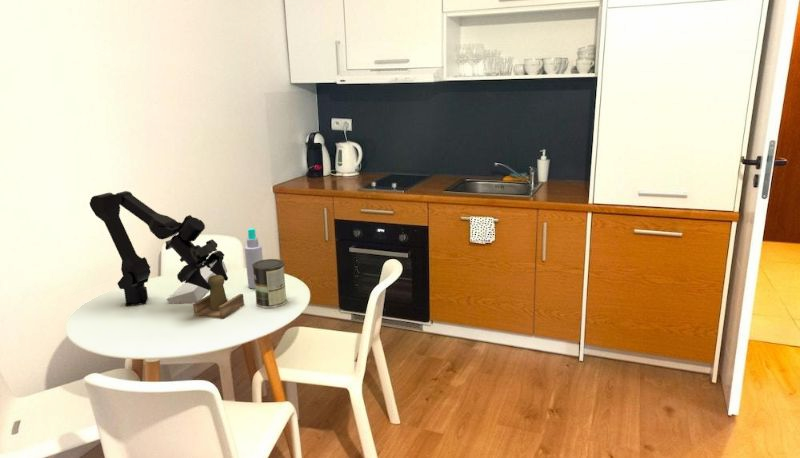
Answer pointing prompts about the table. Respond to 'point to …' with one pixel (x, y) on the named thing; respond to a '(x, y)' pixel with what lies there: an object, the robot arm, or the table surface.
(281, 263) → the coffee can
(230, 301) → the tray
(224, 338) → the table surface
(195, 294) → the light grey block
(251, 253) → the spray bottle
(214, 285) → the cork
